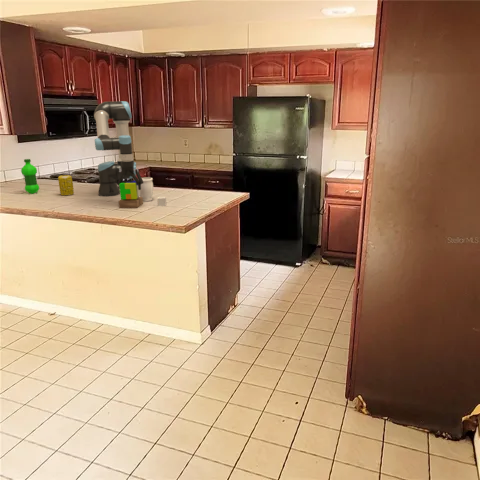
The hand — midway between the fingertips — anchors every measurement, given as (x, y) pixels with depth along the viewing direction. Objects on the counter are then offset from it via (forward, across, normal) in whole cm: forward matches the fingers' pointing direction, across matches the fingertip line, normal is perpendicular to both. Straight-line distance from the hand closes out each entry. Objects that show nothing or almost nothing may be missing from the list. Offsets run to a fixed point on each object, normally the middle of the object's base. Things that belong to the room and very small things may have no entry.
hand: (130, 194), depth 275 cm
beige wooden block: (+8, +19, +6) cm, 21 cm away
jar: (+8, +3, +17) cm, 19 cm away
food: (+8, -62, +22) cm, 66 cm away
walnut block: (+8, 0, 0) cm, 8 cm away
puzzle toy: (+2, 0, 0) cm, 2 cm away
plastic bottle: (+8, -92, +23) cm, 95 cm away
